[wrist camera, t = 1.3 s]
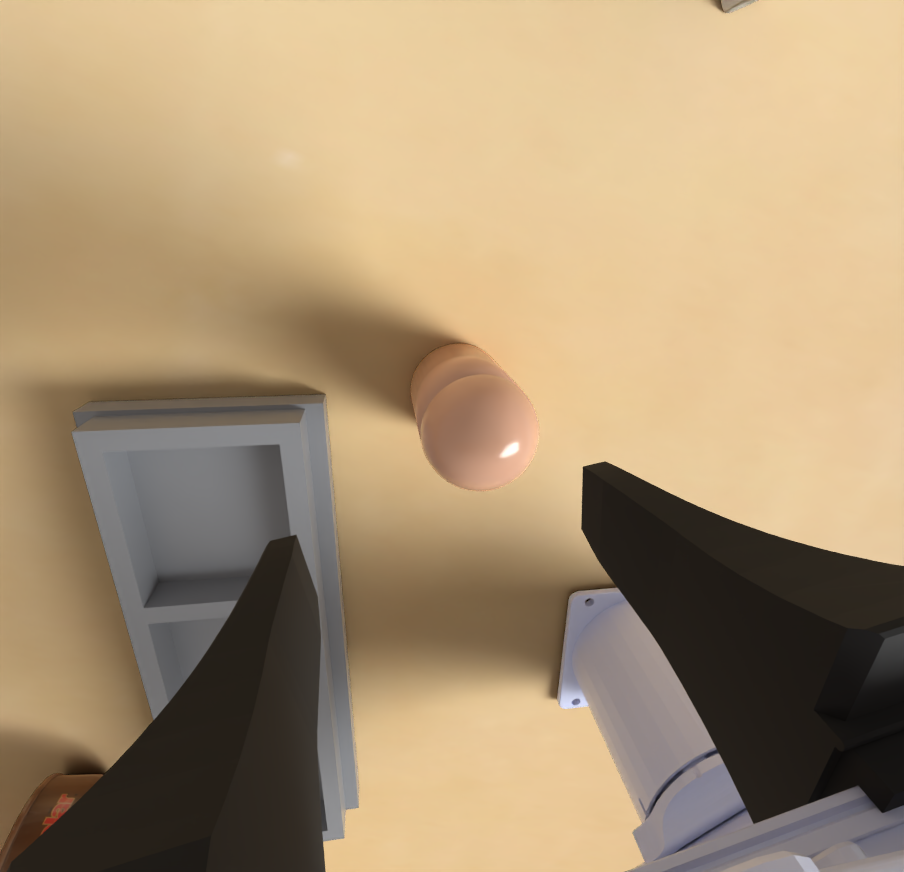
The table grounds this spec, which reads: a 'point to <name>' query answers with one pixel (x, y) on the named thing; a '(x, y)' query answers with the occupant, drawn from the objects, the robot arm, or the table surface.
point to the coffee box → (735, 4)
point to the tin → (44, 811)
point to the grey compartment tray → (220, 539)
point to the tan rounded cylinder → (472, 418)
